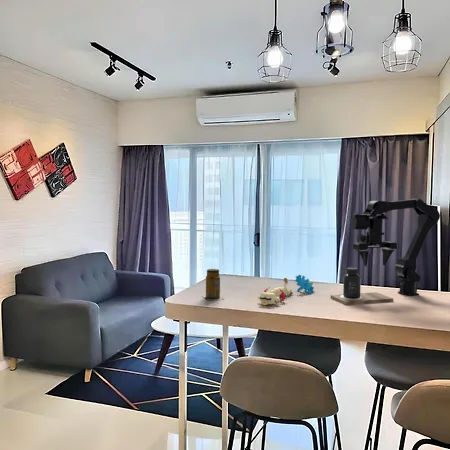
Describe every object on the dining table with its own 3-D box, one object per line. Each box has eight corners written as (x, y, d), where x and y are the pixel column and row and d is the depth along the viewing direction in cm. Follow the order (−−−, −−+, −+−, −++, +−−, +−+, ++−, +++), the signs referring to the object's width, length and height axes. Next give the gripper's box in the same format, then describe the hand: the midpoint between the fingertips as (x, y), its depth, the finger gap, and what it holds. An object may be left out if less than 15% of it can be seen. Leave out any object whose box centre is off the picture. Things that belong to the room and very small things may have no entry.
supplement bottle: (363, 297, 181) (364, 268, 180) (355, 299, 176) (356, 270, 175) (348, 294, 186) (348, 266, 185) (340, 297, 181) (340, 268, 180)
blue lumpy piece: (304, 292, 189) (293, 273, 195) (295, 299, 193) (285, 281, 198) (320, 291, 197) (309, 274, 202) (311, 299, 200) (301, 281, 205)
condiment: (218, 295, 191) (218, 268, 190) (224, 299, 183) (224, 271, 182) (202, 296, 188) (201, 268, 187) (208, 301, 180) (208, 272, 179)
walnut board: (376, 294, 191) (376, 291, 191) (393, 301, 180) (393, 298, 179) (330, 298, 185) (330, 294, 185) (345, 304, 174) (345, 301, 174)
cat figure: (275, 296, 195) (252, 303, 174) (276, 276, 195) (252, 281, 174) (297, 298, 191) (275, 306, 169) (297, 278, 191) (276, 284, 169)
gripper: (383, 227, 199) (382, 261, 200) (346, 228, 194) (345, 263, 195) (398, 229, 188) (397, 265, 189) (360, 230, 183) (359, 267, 185)
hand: (374, 265), depth 190 cm, fingers open, 9 cm apart
